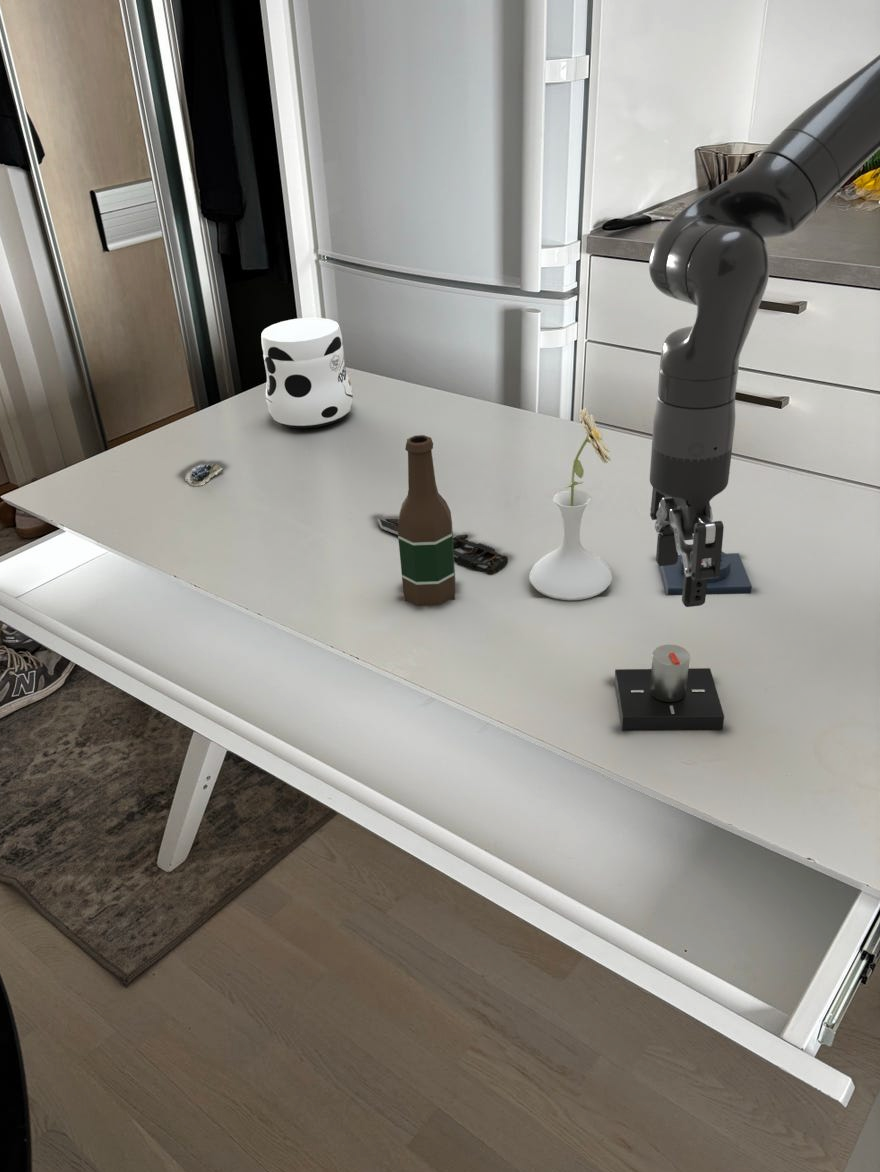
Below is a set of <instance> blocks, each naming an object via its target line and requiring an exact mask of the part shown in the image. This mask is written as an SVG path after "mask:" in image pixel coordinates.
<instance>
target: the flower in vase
mask: <svg viewBox="0 0 880 1172" xmlns="http://www.w3.org/2000/svg"><path fill="white" fill-rule="evenodd" d="M579 415H580V416H579V417H580V420H581V424H582V427H583V429H584V431H585V434H586V436H585V438H584V440H583V442H582V443H581V446H580V448H579V450H578V451H577V454H576V456H575V458H574V459H573V462H572V463H573V464H572V471H571V482H570V484H567V485H565V486H564V487H563V489H566V488H570V489H568V490H561V491H559V492H557V493H555V494H554V496H553V499H552V500H553V502H554V504H555V505H556V506H557V507H558V509H559V511H560V514H561V518H562V519H561V520H562V528H563V529H562V531H563V532H562V533H563V535H562V542H561V544H560V545H559V547H558V548H556V549H554V550H553V551H550V552H548V554H544V555H543V556H542V557H541V558H540V559H538V560H537V561H536V562H535V563H533V566H532V567H531V570H530V572H529V582H530V583H531V585H532V586H533V588H535V590H536V591H537V592H539V593H540V594H542V595H544V596H546V597H548V598H552V599H555V600H562V601H581V600H586V599H591V598H593V597H596V596H598V595H600V594H601V593H603V592H604V591H605V590H606V589H607V588H608V587H609V586H610V585H611V583H612V580H613V574H612V571H611V568H610V567H609V565H608V564H607V563H606V562H605V561H604V560H603V559H602V558H601V557H599V556H598V555H596V554H594V553H593V552H592V551H590V550H588V549H586V548H585V547H584V546H583V545H582V543H581V526H582V525H581V524H582V519H583V515H584V512H585V510H586V508H587V506H589V505H590V503H591V502H592V496H591V494H590V493H588V492H587V491H583V490H578V489H575V486H577V485H580V484H583V483H584V481H575V475H576V476H577V477H578V478H579V479H582V478H583V477H584V467H583V465H582V462H581V460H579V457H580V456H581V453H582V452H583V449H584V448H585V447H586V445H587V443H589V444H591V446H592V449H593V451H594V452H595V454H596V455H597V456H598V457H599V459H600V460H601V461H602V463H603V464H607V463H609V461H612V458H611V456H610V455H609V453H610V452H611V451H610V448H609V446H608V445H607V444H606V443H605V440H604V439H603V437H604V433H603V431H602V430H601V429H599V428H598V427H597V424H596V421H595V417H594V416H593V414H589V412H588V410H587V408H586V407H584V408H583V409H581V408H580V409H579Z"/></svg>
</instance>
